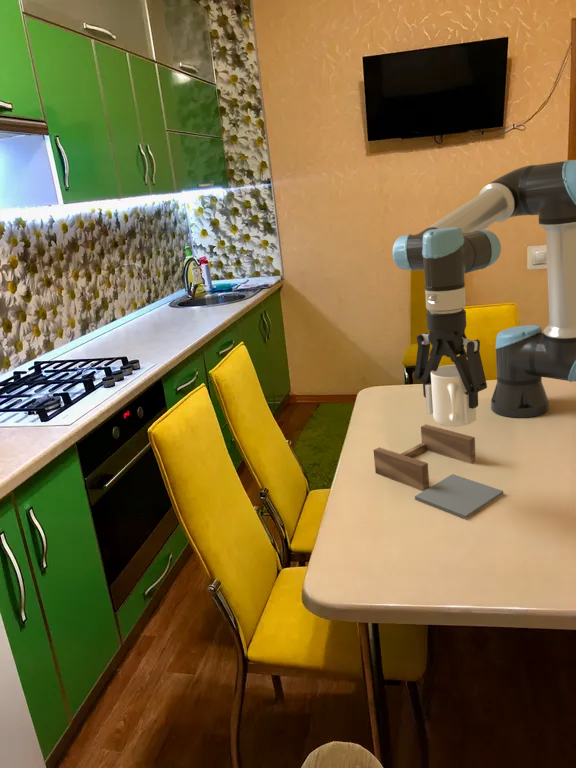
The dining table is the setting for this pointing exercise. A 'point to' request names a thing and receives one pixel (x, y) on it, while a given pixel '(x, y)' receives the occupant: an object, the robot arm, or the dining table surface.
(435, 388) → the mug
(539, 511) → the dining table surface
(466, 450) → the frame
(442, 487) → the coaster
